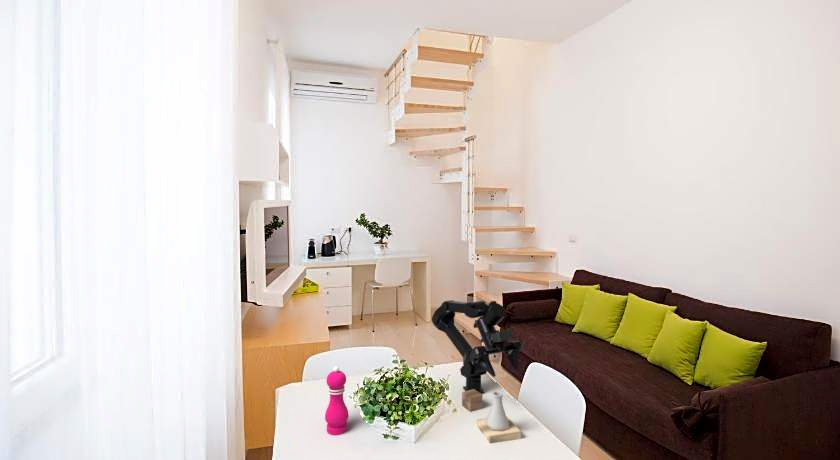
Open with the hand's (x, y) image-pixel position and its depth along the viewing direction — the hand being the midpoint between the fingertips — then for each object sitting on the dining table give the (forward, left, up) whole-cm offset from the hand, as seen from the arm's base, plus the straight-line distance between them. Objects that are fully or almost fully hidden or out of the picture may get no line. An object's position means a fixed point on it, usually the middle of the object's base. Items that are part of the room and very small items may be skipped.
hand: (506, 374), depth 136 cm
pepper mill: (-3, -55, -14) cm, 57 cm away
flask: (+10, -7, -12) cm, 17 cm away
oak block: (+10, -7, -14) cm, 19 cm away
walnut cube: (-7, -9, -14) cm, 18 cm away
